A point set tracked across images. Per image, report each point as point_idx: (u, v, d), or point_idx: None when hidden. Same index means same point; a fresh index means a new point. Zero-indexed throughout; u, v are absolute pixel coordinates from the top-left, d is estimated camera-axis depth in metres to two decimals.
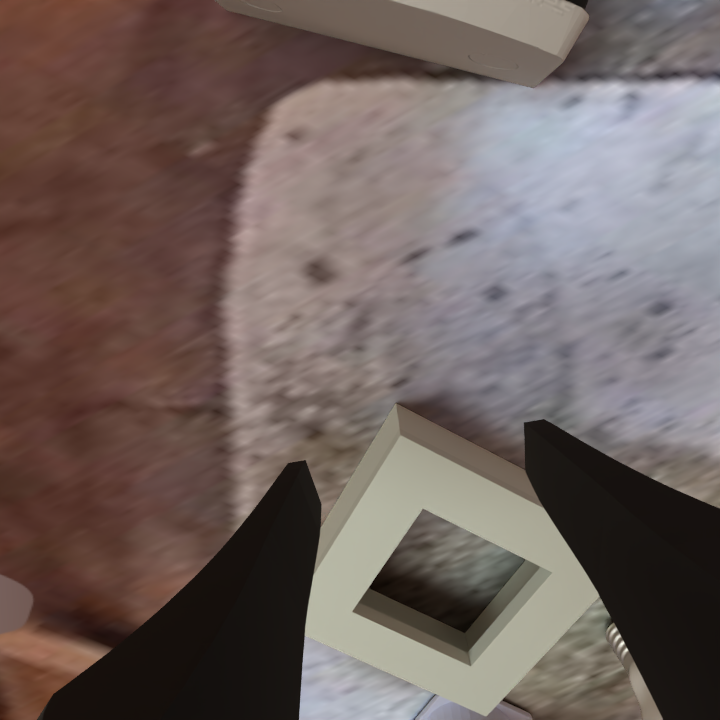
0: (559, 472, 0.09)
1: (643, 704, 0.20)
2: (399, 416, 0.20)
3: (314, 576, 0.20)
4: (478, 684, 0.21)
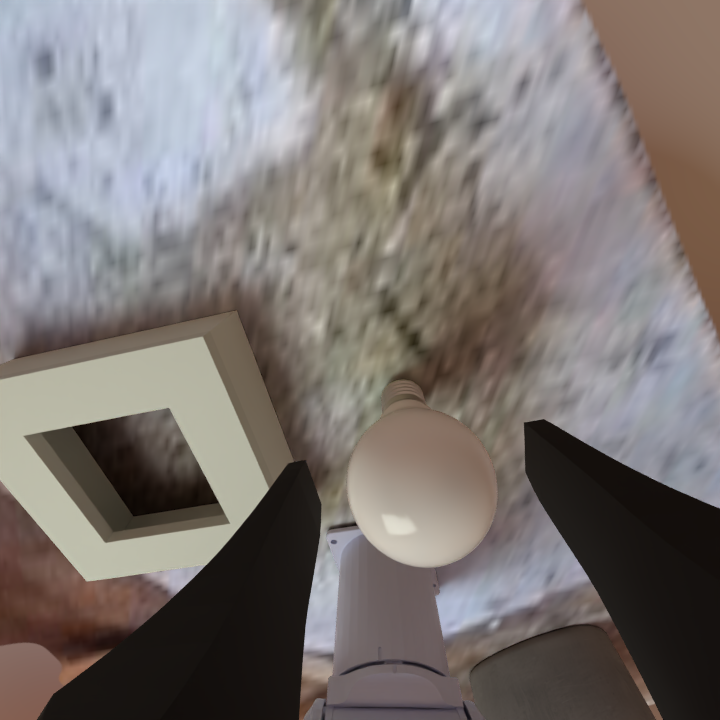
0: (559, 473, 0.09)
1: None
2: None
3: (49, 536, 0.21)
4: None
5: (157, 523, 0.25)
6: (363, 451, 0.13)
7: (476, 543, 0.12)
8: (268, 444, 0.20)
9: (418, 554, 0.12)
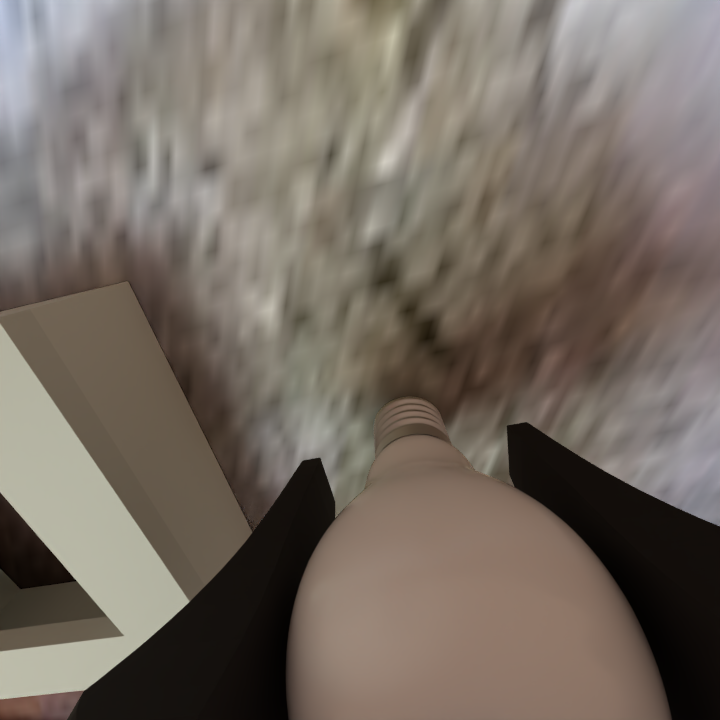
0: (539, 476, 0.09)
1: None
2: None
3: None
4: None
5: (47, 605, 0.17)
6: (318, 598, 0.05)
7: None
8: (186, 504, 0.12)
9: None
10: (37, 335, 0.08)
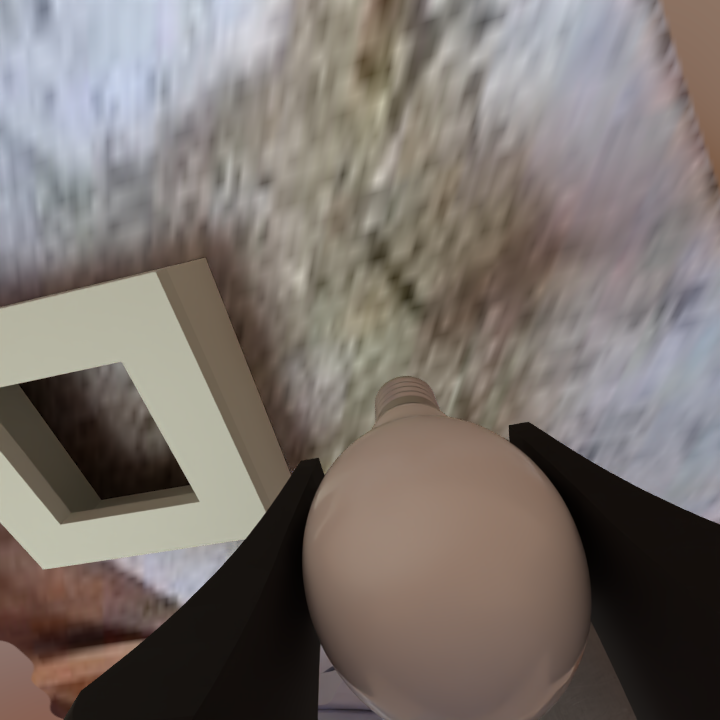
0: None
1: None
2: None
3: None
4: (228, 512, 0.18)
5: None
6: (331, 492, 0.07)
7: (557, 701, 0.06)
8: (242, 411, 0.18)
9: None
10: (170, 284, 0.14)
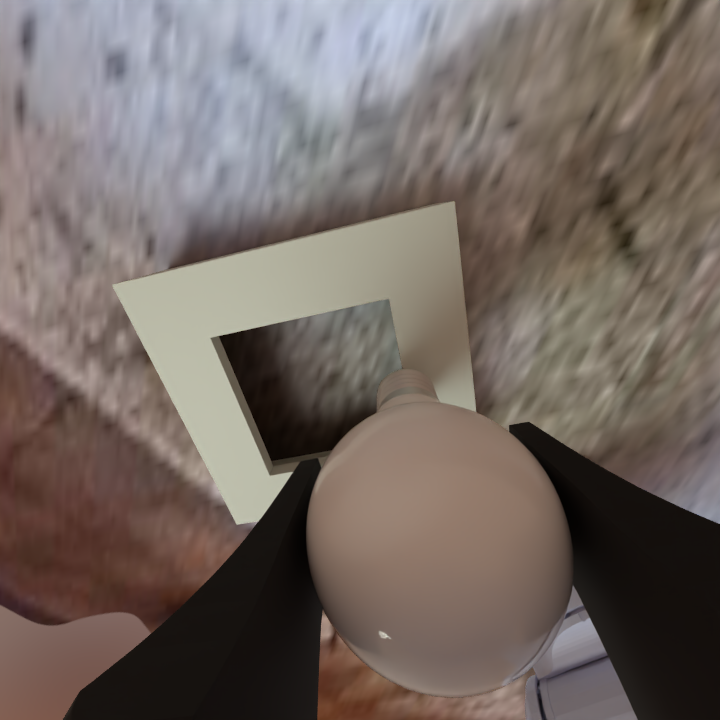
0: None
1: None
2: None
3: (209, 468, 0.19)
4: None
5: None
6: (334, 468, 0.08)
7: (538, 660, 0.06)
8: None
9: (427, 683, 0.06)
10: None
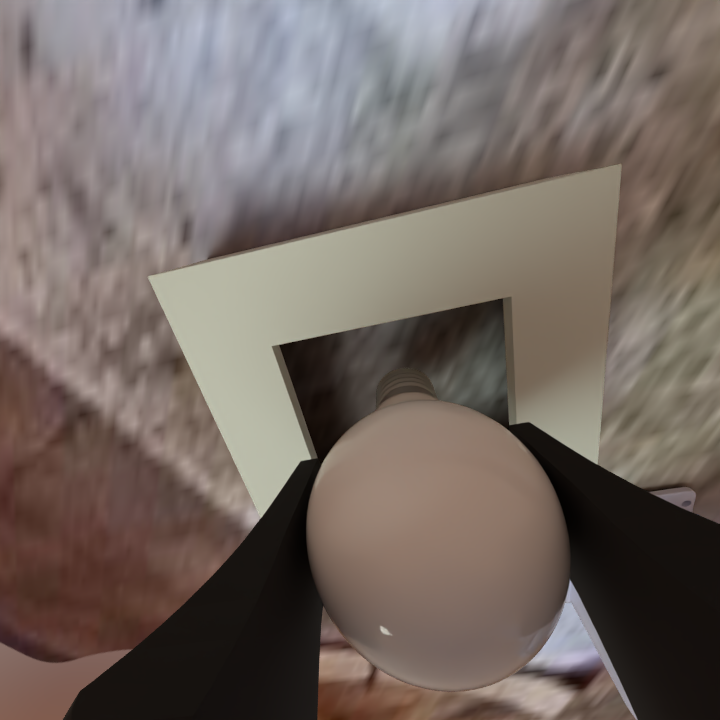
0: None
1: None
2: (187, 265, 0.13)
3: (256, 505, 0.15)
4: None
5: None
6: (334, 465, 0.08)
7: None
8: None
9: (426, 676, 0.06)
10: None
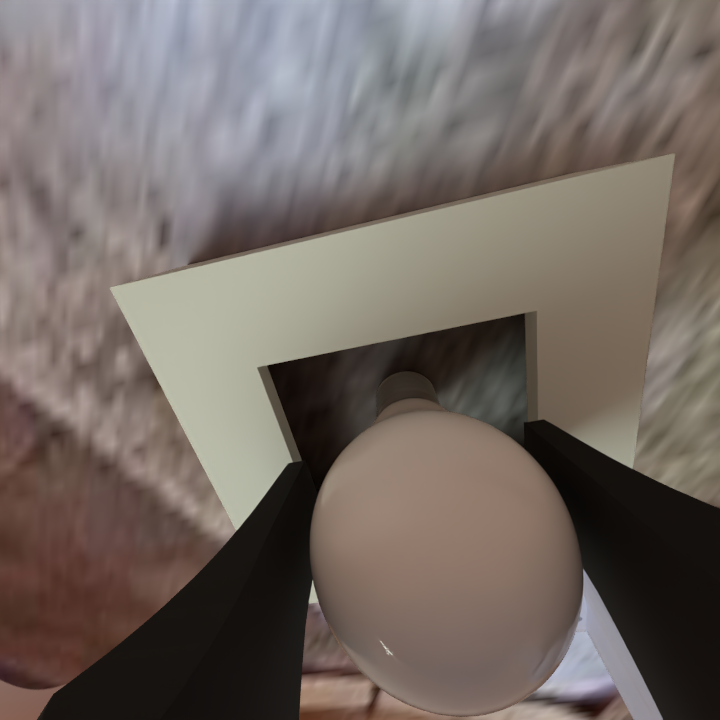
0: (559, 473, 0.09)
1: None
2: (162, 272, 0.12)
3: None
4: None
5: None
6: (339, 482, 0.07)
7: (549, 677, 0.06)
8: None
9: (437, 704, 0.06)
10: None
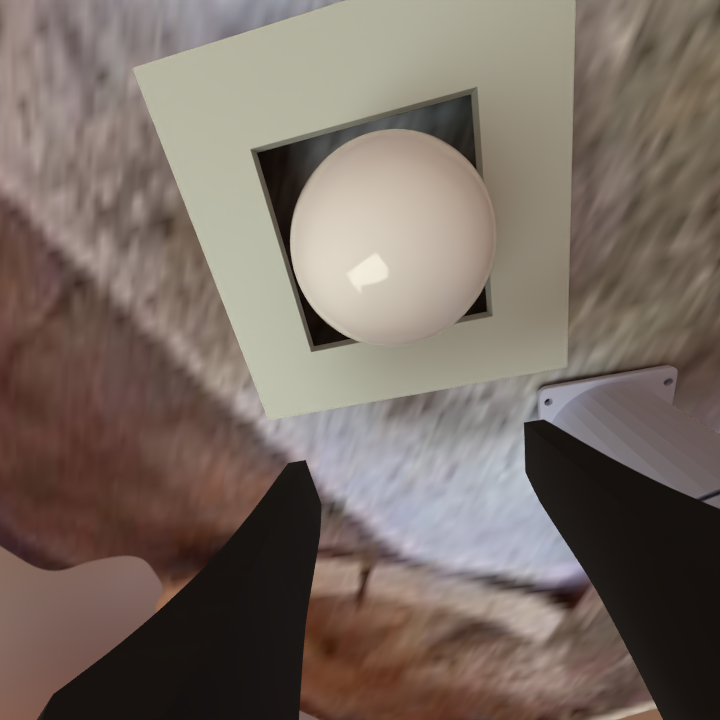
0: (559, 472, 0.09)
1: None
2: None
3: (239, 341, 0.16)
4: (522, 332, 0.15)
5: None
6: (311, 174, 0.10)
7: (463, 277, 0.09)
8: None
9: (377, 276, 0.08)
10: None
